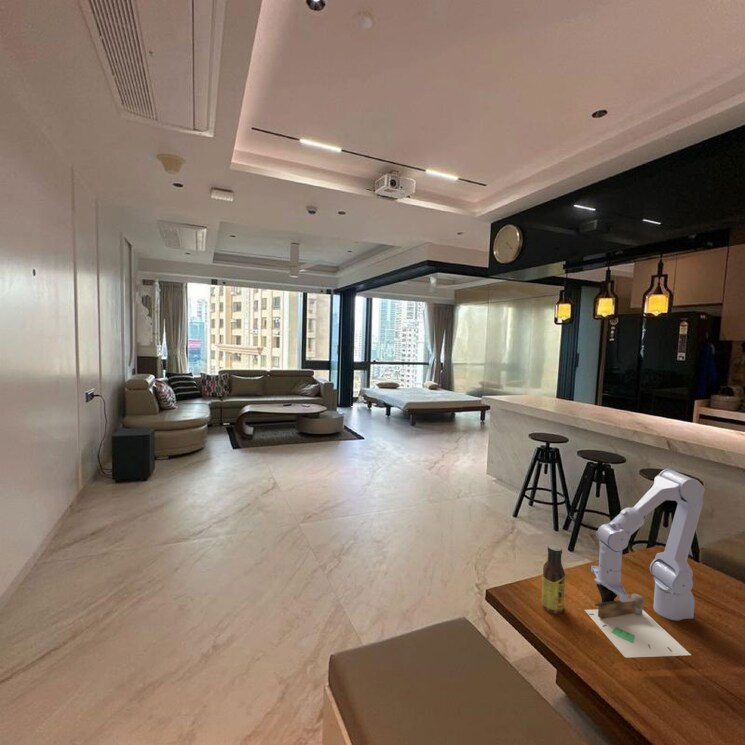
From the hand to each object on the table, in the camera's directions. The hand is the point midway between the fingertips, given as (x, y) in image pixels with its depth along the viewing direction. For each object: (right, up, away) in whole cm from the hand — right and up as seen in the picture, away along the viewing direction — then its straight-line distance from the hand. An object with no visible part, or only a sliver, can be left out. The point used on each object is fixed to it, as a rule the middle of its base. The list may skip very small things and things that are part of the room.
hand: (607, 608), depth 118 cm
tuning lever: (+3, -1, -1) cm, 3 cm away
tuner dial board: (+3, -3, -7) cm, 8 cm away
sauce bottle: (-15, -2, +3) cm, 16 cm away
